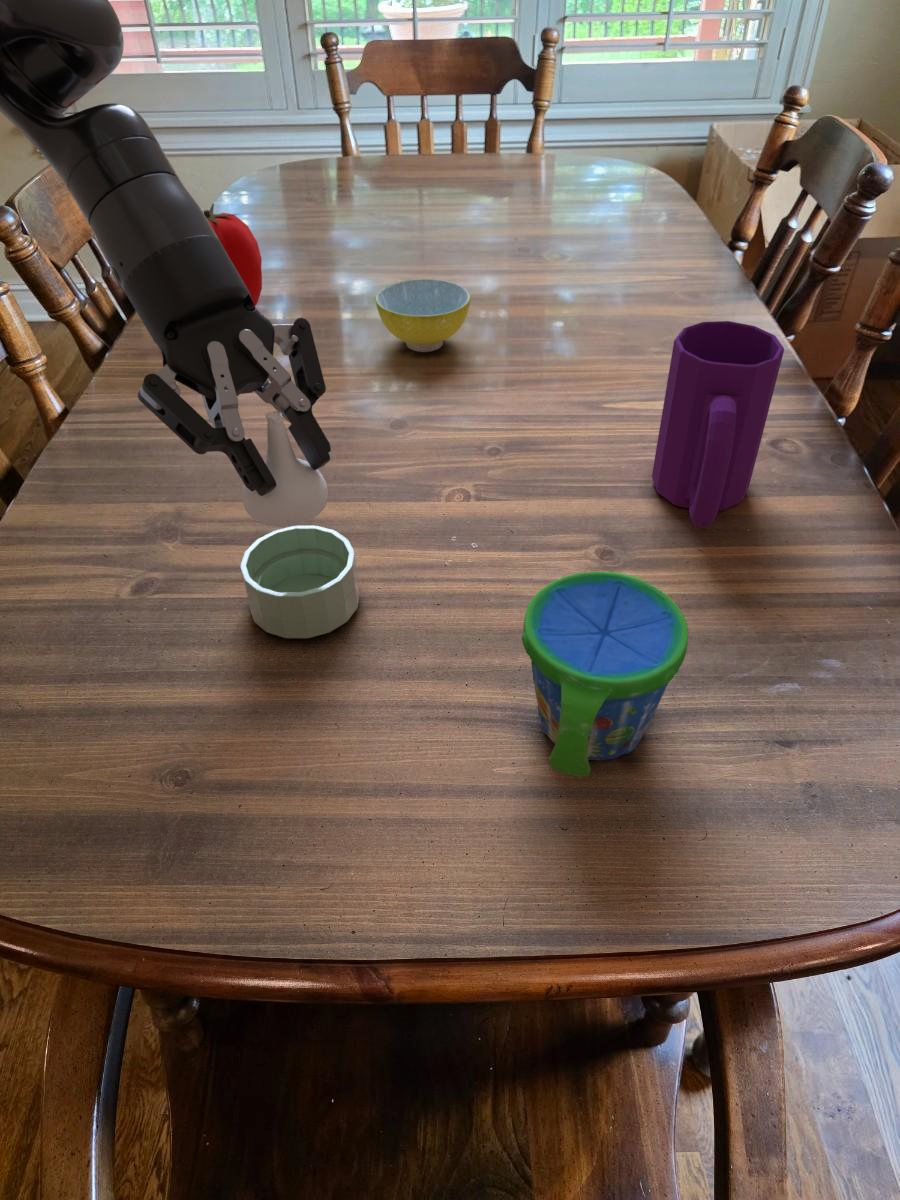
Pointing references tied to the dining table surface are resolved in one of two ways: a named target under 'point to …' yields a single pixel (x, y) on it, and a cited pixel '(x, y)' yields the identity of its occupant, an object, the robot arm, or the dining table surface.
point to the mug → (714, 415)
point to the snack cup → (600, 662)
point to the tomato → (239, 249)
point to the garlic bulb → (286, 483)
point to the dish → (301, 581)
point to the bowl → (423, 311)
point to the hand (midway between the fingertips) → (296, 476)
